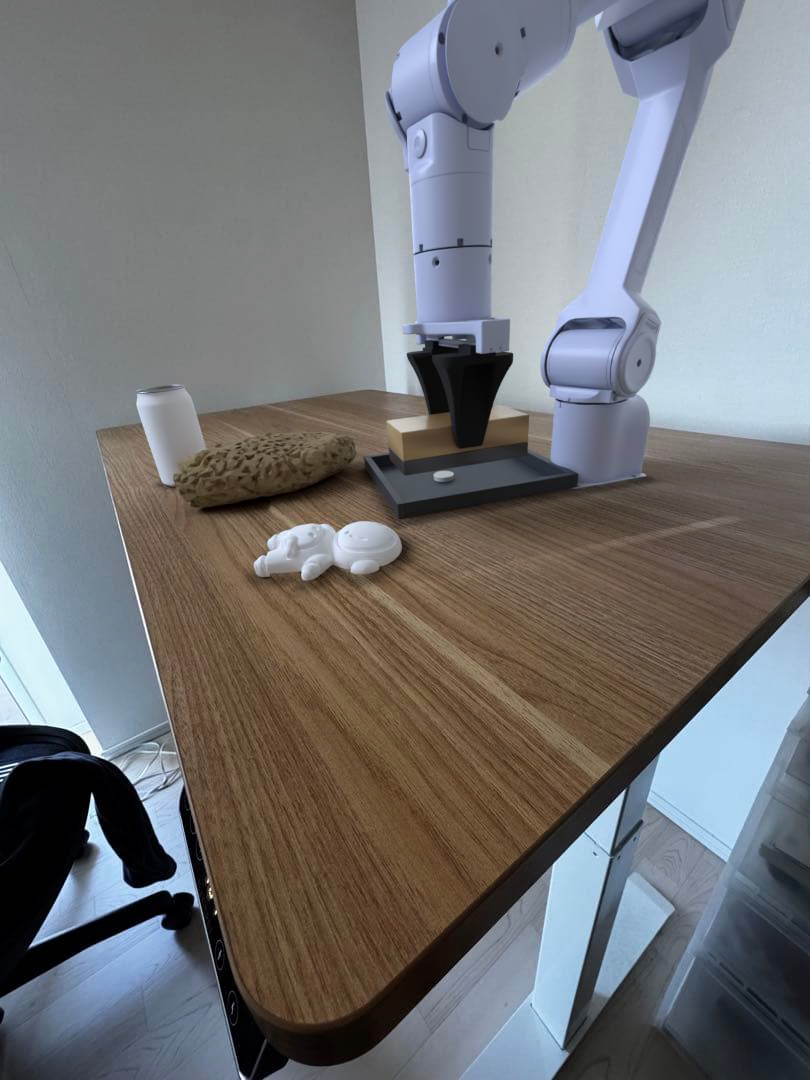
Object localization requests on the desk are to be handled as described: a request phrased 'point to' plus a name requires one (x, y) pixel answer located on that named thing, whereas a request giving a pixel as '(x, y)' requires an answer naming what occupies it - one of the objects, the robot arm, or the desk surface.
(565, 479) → the tray
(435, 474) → the chalk crumb
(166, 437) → the can
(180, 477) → the sponge
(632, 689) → the desk surface
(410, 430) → the eraser
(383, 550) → the astronaut figurine
